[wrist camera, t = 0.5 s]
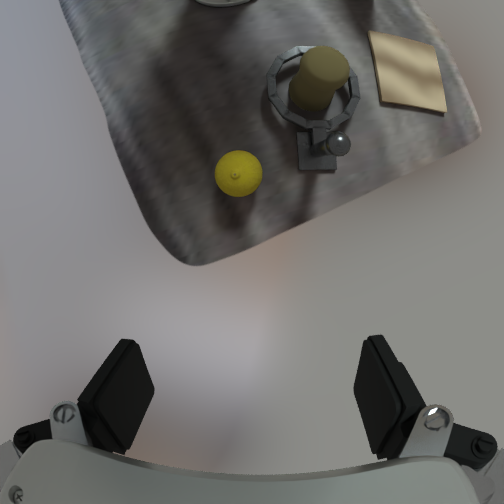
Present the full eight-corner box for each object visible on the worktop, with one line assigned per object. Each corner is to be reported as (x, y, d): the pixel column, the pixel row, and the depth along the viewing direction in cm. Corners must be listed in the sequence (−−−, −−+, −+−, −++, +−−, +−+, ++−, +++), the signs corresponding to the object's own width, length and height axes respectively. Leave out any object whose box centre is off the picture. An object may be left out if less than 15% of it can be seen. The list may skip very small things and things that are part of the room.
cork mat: (367, 32, 27) (368, 30, 26) (431, 47, 26) (433, 46, 25) (380, 101, 30) (382, 100, 30) (444, 112, 30) (447, 112, 29)
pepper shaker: (339, 105, 31) (367, 83, 21) (298, 116, 32) (311, 95, 22) (323, 67, 30) (343, 34, 19) (281, 77, 31) (287, 44, 20)
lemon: (212, 168, 35) (198, 168, 27) (247, 144, 34) (241, 137, 26) (236, 201, 36) (228, 211, 28) (271, 178, 35) (272, 181, 27)
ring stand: (263, 55, 30) (262, 10, 18) (346, 57, 29) (376, 18, 17) (273, 170, 35) (277, 171, 23) (358, 169, 34) (399, 171, 22)
